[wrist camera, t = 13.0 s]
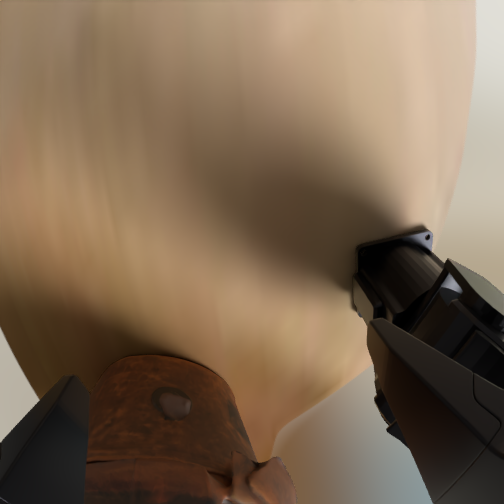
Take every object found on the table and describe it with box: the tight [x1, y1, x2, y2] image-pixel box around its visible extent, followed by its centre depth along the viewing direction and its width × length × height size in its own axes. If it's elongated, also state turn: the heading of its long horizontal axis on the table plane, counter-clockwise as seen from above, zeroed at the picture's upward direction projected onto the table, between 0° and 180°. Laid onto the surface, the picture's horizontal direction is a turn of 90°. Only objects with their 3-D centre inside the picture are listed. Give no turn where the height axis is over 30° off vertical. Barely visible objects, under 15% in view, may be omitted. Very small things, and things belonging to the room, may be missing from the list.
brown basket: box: [84, 355, 297, 504], centre depth 20 cm, size 18×20×18 cm
